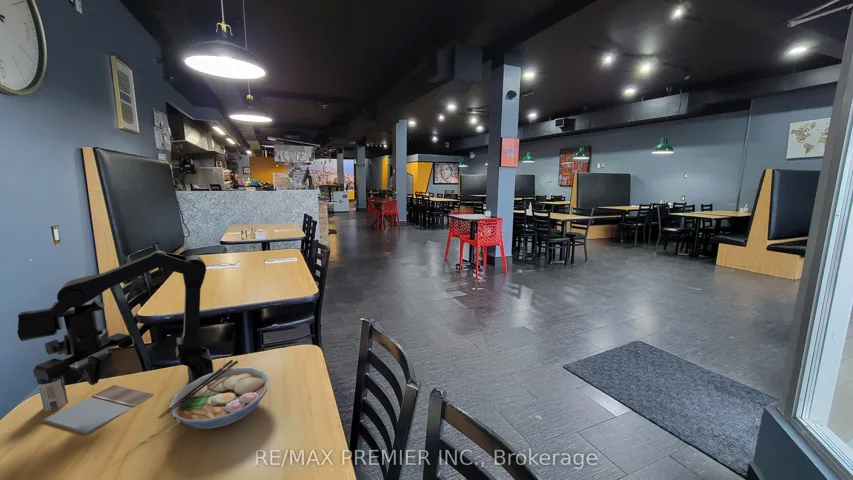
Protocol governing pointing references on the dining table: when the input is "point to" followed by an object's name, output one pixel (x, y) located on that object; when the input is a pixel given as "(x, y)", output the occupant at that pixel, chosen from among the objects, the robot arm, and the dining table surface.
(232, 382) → the ramen bowl
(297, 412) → the dining table surface
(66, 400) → the grey can
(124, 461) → the dining table surface
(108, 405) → the grey tile
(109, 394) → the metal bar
